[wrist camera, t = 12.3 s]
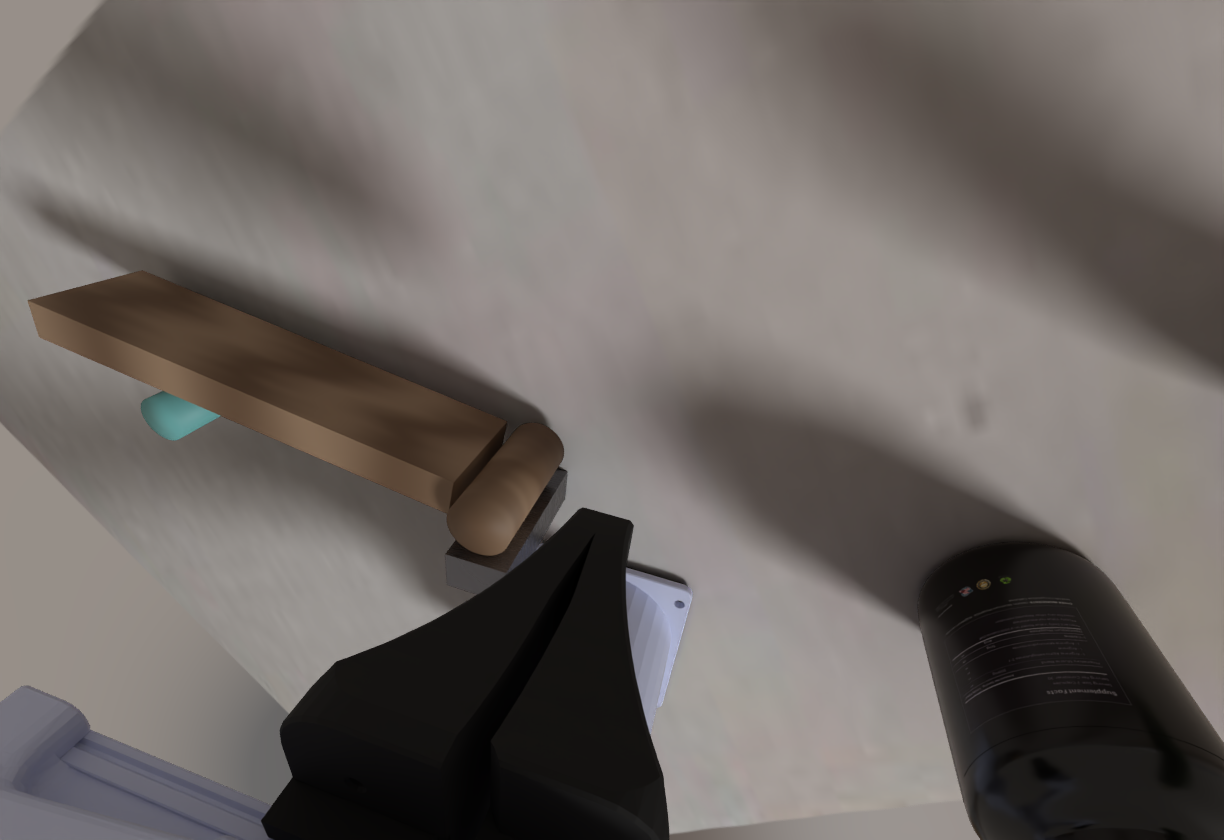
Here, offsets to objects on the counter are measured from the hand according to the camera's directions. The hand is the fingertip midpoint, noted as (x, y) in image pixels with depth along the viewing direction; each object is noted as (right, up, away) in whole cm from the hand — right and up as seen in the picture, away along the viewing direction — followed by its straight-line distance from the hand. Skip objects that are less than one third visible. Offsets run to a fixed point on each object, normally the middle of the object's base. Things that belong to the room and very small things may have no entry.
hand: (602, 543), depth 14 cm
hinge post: (-3, 0, +12) cm, 12 cm away
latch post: (-17, +6, +14) cm, 23 cm away
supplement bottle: (+16, -4, +9) cm, 19 cm away
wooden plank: (-11, +5, +11) cm, 17 cm away
